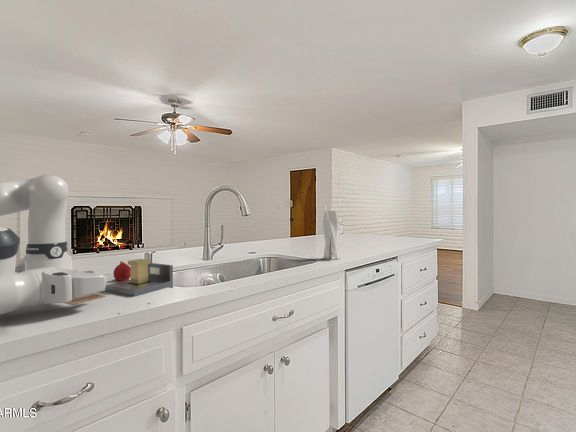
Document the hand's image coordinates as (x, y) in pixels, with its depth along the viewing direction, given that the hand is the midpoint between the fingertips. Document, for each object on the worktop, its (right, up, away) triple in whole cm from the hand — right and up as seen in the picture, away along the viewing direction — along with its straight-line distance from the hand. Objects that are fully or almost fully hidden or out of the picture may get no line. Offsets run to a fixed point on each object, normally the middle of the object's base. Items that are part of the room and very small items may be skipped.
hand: (102, 274), depth 88 cm
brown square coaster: (-6, -8, 0) cm, 10 cm away
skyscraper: (+75, -6, +75) cm, 106 cm away
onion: (-6, -8, +23) cm, 25 cm away
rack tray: (+6, -8, +11) cm, 14 cm away
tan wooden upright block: (+6, -8, +11) cm, 14 cm away
